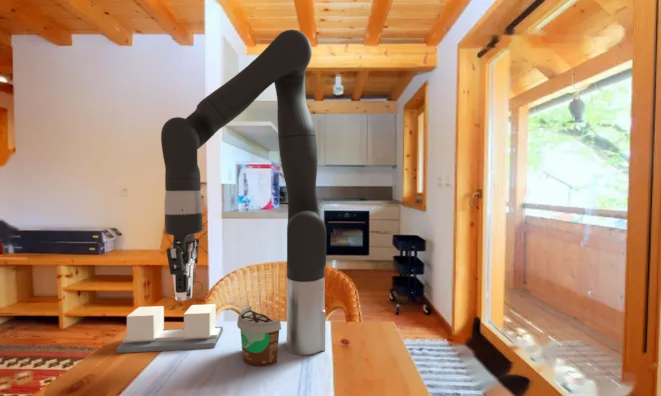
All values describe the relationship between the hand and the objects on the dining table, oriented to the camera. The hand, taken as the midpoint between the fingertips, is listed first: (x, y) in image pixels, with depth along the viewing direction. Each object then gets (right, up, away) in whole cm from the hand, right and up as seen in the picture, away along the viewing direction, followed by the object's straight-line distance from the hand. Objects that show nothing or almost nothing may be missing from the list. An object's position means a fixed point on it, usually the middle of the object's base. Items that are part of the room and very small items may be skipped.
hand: (185, 288), depth 69 cm
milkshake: (0, -2, 0) cm, 2 cm away
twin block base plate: (-8, -16, +10) cm, 20 cm away
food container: (+15, -17, +1) cm, 22 cm away
